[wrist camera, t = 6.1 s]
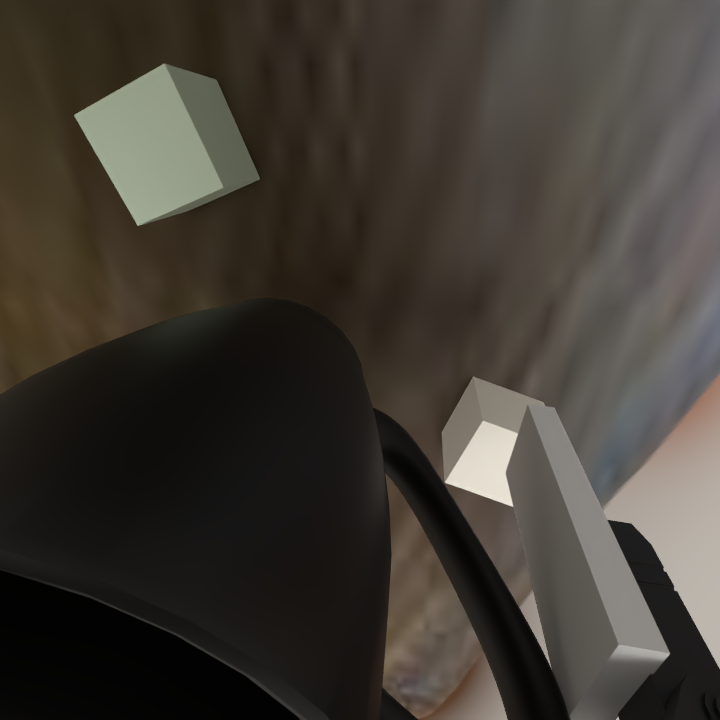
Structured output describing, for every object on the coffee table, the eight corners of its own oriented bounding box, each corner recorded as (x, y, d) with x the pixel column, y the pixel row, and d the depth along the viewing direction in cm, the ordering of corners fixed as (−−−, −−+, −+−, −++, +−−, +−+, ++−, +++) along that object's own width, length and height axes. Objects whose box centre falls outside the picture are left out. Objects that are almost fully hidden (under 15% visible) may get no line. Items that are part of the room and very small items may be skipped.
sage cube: (141, 120, 23) (73, 115, 18) (217, 79, 21) (164, 63, 17) (188, 211, 25) (137, 225, 20) (260, 179, 23) (223, 187, 19)
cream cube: (472, 375, 27) (483, 420, 23) (543, 401, 27) (566, 451, 23) (441, 431, 30) (445, 482, 25) (506, 455, 30) (520, 509, 25)
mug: (435, 535, 16) (445, 944, 8) (146, 416, 15) (-175, 741, 7) (566, 378, 12) (849, 867, 4) (188, 203, 11) (-425, 386, 3)
